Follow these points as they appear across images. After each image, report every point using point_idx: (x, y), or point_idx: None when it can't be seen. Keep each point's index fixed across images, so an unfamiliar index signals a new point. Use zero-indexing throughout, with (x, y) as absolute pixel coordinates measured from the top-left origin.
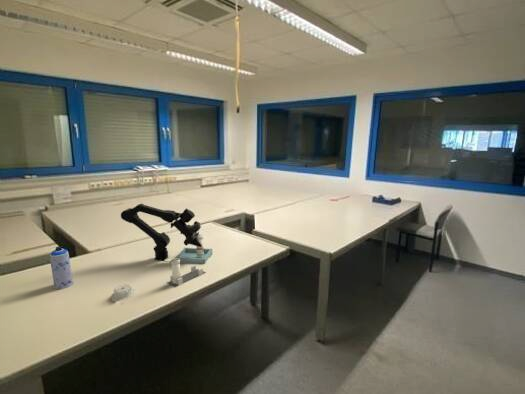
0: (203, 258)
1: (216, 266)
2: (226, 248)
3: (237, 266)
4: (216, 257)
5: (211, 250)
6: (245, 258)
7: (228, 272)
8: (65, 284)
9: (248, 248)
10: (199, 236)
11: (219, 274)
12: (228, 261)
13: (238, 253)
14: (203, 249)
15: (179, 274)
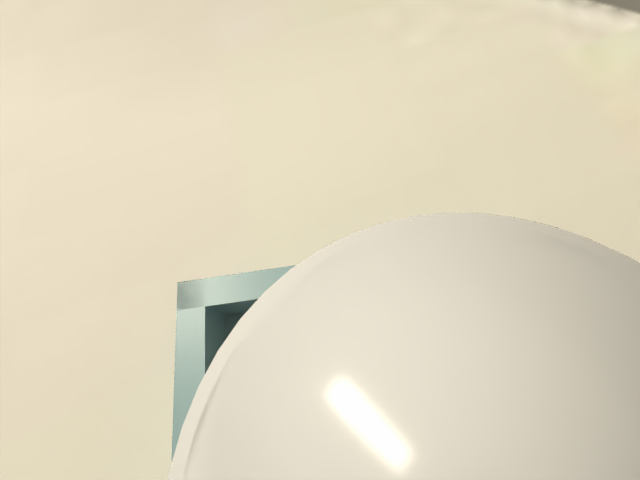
0: None
1: (494, 141)
2: (43, 210)
3: (422, 7)
4: (291, 219)
5: (220, 278)
6: (261, 7)
7: (554, 23)
8: None
9: (55, 45)
10: (634, 470)
11: (627, 64)
12: (353, 90)
13: (167, 76)
14: None
15: None
